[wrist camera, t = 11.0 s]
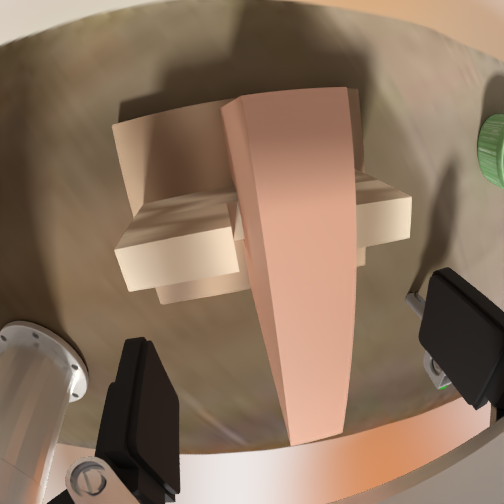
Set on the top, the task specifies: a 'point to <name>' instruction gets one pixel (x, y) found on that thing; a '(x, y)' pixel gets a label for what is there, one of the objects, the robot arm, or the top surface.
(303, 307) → the salmon pink flat slab
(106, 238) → the top surface
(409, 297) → the mechanical component
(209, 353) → the top surface
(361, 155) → the slotted stand
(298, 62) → the top surface
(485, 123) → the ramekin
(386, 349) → the top surface
